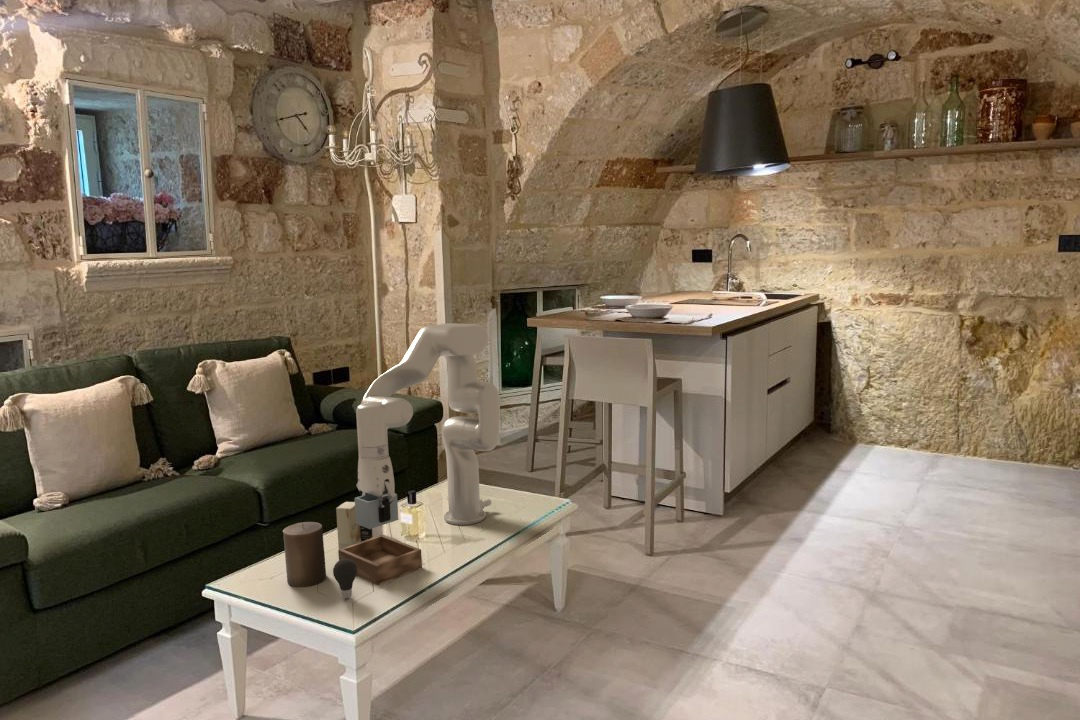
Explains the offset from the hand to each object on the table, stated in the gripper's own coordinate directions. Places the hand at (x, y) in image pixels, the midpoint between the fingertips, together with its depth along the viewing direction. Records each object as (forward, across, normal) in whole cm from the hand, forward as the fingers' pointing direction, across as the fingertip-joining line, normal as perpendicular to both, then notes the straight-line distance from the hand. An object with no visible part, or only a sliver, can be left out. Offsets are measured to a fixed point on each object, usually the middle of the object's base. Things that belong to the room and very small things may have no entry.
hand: (377, 517), depth 216 cm
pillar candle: (+14, +9, +16) cm, 23 cm away
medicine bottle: (+14, +21, -11) cm, 27 cm away
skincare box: (+14, +19, -4) cm, 24 cm away
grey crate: (+1, 0, 0) cm, 1 cm away
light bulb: (+14, -9, +16) cm, 23 cm away
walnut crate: (+14, 0, 0) cm, 14 cm away
